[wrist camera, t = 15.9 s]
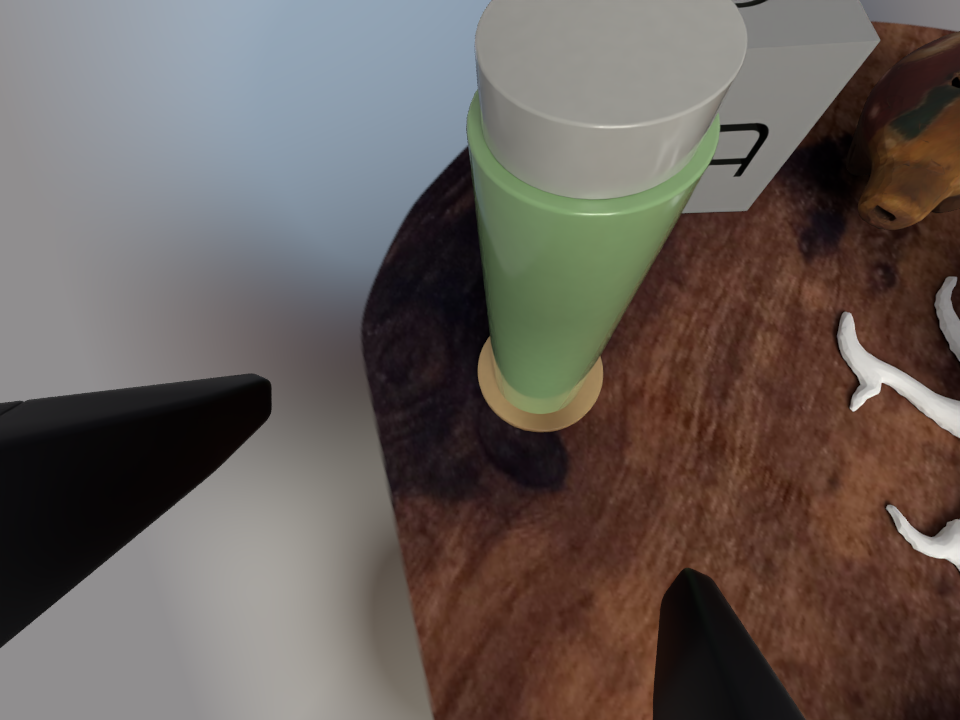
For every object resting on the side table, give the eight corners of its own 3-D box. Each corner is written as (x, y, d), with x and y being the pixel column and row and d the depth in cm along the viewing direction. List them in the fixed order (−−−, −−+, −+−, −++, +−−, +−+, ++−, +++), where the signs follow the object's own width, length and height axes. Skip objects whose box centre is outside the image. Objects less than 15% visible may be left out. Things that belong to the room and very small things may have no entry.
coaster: (505, 451, 21) (505, 450, 21) (461, 341, 24) (460, 338, 24) (623, 404, 22) (626, 402, 21) (568, 300, 24) (569, 296, 24)
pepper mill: (569, 427, 21) (746, 174, 5) (481, 397, 22) (409, 105, 6) (594, 344, 23) (786, -40, 7) (510, 320, 24) (512, -70, 8)
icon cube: (589, 216, 27) (632, 55, 17) (578, 109, 30) (609, -72, 21) (746, 210, 26) (880, 40, 17) (716, 102, 29) (812, -89, 20)
